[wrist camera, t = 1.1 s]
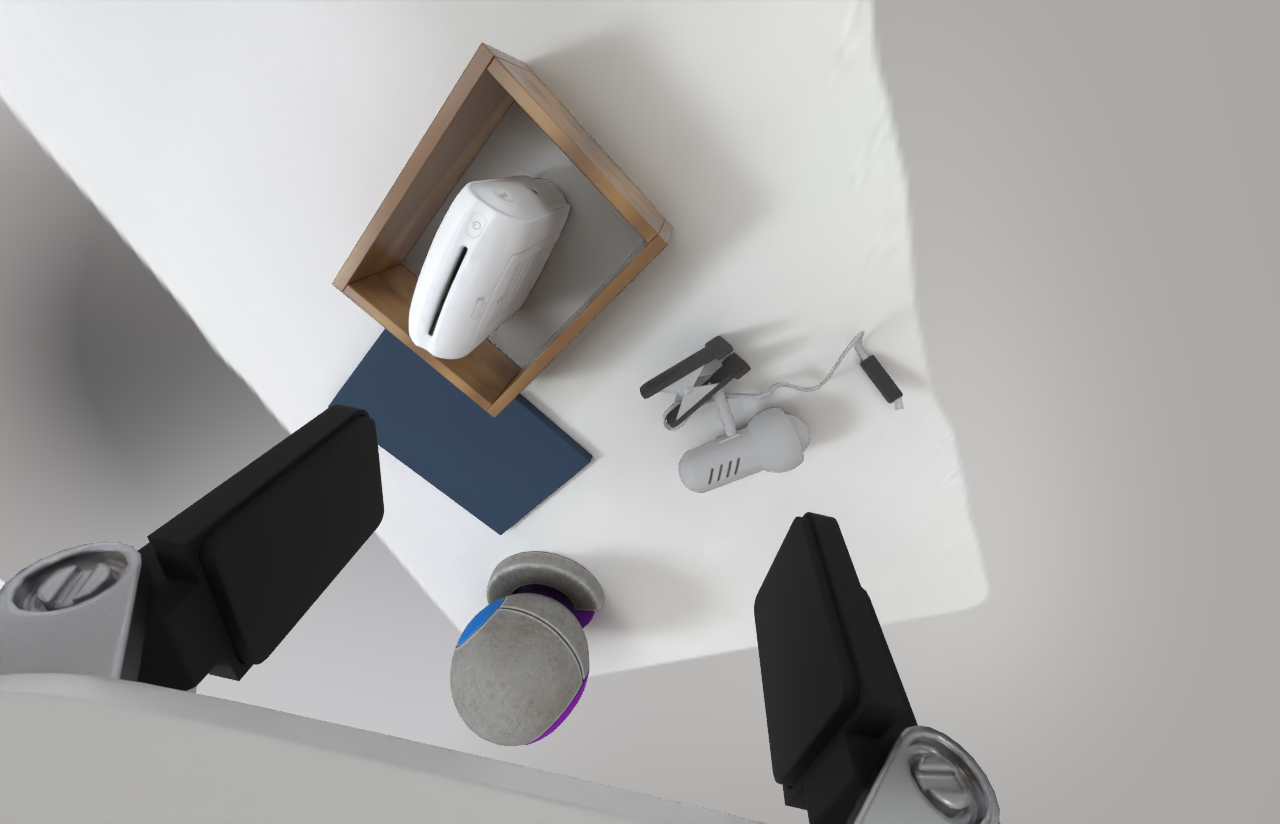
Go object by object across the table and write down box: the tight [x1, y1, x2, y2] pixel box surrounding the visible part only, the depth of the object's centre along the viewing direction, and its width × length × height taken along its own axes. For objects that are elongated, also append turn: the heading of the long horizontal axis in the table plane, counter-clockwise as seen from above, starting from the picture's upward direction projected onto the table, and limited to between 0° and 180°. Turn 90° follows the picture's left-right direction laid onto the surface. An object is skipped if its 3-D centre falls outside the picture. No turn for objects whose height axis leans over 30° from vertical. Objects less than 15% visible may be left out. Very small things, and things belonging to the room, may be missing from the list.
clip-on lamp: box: [640, 331, 904, 493], centre depth 36 cm, size 12×6×18 cm
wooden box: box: [332, 43, 673, 418], centre depth 32 cm, size 14×18×6 cm
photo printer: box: [409, 176, 570, 359], centre depth 30 cm, size 10×4×12 cm, turn 148°
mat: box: [328, 328, 592, 535], centre depth 43 cm, size 20×14×1 cm
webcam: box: [450, 552, 604, 746], centre depth 47 cm, size 13×13×15 cm
